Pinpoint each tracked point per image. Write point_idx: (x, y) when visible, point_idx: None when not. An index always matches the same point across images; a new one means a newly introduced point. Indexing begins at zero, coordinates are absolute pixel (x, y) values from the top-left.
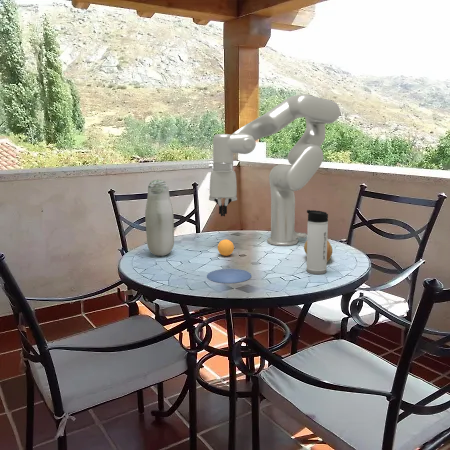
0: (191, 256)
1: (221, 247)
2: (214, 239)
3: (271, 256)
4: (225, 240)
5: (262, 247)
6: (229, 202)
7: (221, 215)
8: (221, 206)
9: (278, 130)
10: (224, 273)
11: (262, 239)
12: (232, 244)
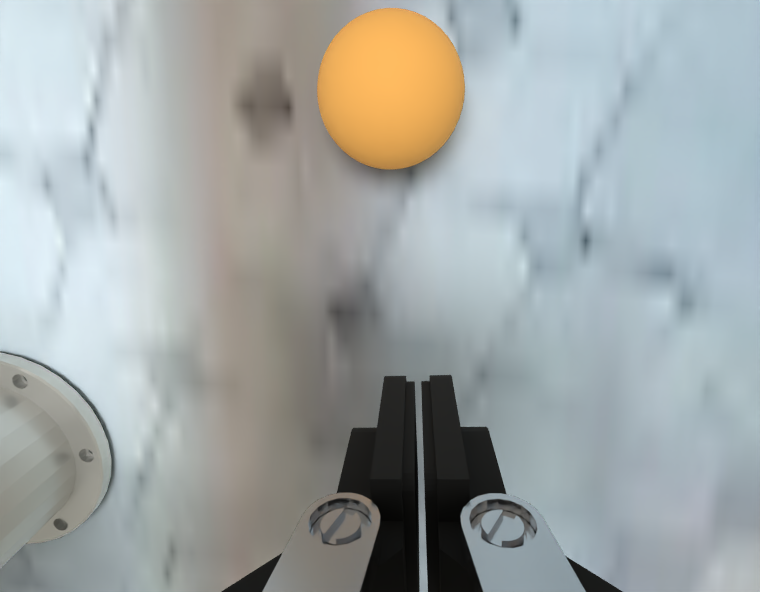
0: (667, 88)
1: (430, 21)
2: None
3: (49, 66)
4: (390, 54)
5: (134, 325)
6: (246, 589)
7: (442, 377)
8: (457, 472)
9: None
10: None
11: (150, 525)
12: (324, 62)
